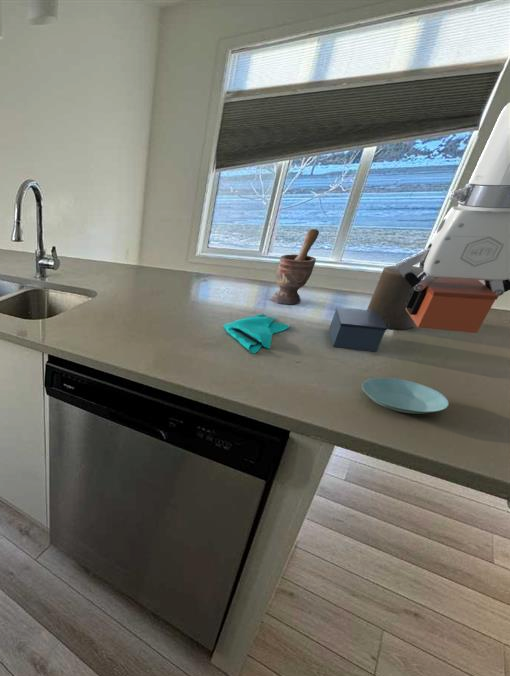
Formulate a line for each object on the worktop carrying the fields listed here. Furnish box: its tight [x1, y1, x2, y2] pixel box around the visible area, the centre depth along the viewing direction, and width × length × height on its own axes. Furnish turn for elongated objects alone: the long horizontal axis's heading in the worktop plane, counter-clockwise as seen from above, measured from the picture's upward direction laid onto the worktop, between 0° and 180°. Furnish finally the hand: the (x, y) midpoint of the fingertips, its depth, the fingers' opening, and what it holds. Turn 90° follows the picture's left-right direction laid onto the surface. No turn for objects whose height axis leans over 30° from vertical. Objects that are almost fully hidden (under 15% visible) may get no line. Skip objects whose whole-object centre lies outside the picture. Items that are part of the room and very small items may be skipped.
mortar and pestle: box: [271, 228, 320, 305], centre depth 120 cm, size 12×9×20 cm
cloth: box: [223, 313, 291, 355], centre depth 106 cm, size 26×14×2 cm, turn 132°
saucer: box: [361, 377, 450, 415], centre depth 75 cm, size 12×12×2 cm
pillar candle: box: [366, 265, 424, 331], centre depth 101 cm, size 10×10×15 cm
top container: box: [406, 278, 500, 334], centre depth 66 cm, size 7×9×6 cm
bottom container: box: [328, 307, 388, 353], centre depth 97 cm, size 8×11×6 cm
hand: (441, 313), depth 67 cm, fingers closed on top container, 6 cm apart
